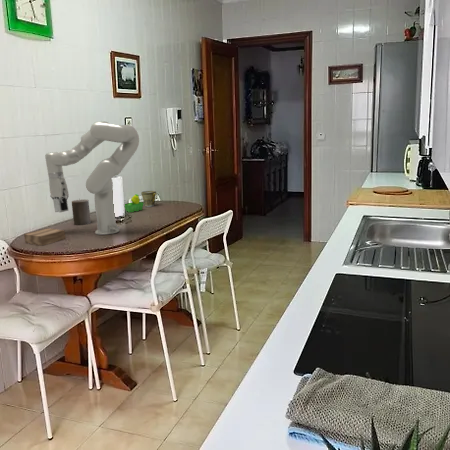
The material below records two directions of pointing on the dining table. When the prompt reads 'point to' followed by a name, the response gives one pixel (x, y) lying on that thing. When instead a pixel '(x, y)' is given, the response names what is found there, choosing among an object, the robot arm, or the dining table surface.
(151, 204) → the ceramic cup
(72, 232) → the dining table surface
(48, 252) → the dining table surface
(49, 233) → the walnut block
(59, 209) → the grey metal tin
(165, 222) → the dining table surface
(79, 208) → the pillar candle
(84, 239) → the dining table surface
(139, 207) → the fruit basket
